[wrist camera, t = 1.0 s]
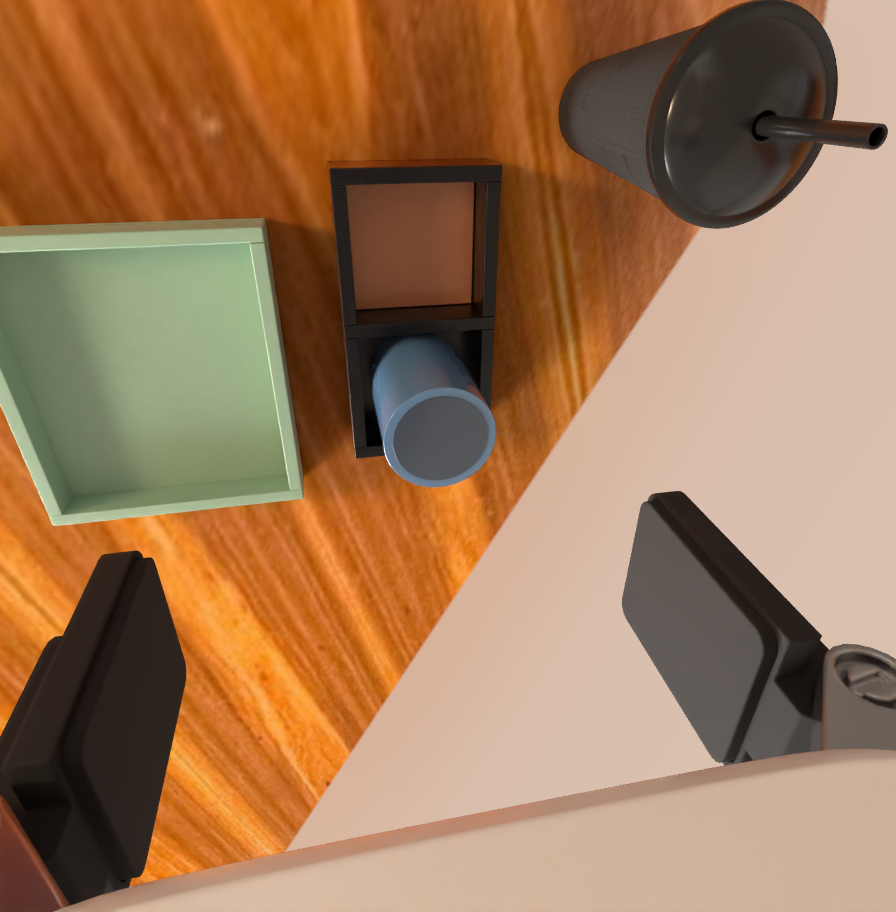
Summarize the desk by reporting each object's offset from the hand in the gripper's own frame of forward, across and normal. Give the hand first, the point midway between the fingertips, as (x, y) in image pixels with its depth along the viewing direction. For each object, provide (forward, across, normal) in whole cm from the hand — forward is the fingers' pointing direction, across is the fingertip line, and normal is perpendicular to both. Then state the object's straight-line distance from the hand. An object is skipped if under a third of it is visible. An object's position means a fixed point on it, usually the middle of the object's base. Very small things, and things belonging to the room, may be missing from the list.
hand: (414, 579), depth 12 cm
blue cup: (+28, -4, +7) cm, 29 cm away
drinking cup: (+28, -15, -8) cm, 33 cm away
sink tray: (+29, +12, +6) cm, 32 cm away
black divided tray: (+29, -4, +3) cm, 29 cm away
